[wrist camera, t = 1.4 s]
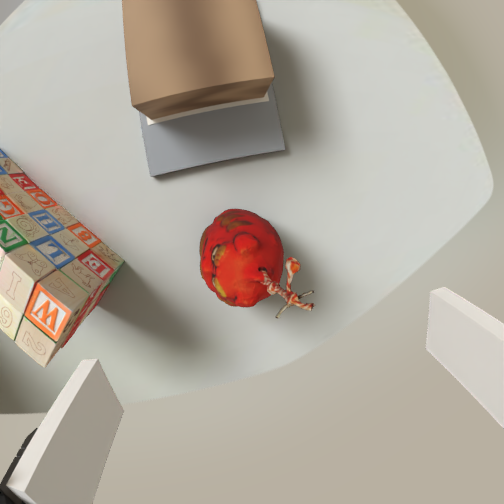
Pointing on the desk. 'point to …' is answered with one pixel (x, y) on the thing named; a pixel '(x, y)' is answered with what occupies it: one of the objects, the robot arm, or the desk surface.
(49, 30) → the desk surface
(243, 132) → the board
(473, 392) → the robot arm
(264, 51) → the plinth
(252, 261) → the red clay folk toy
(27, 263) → the stack of blocks
